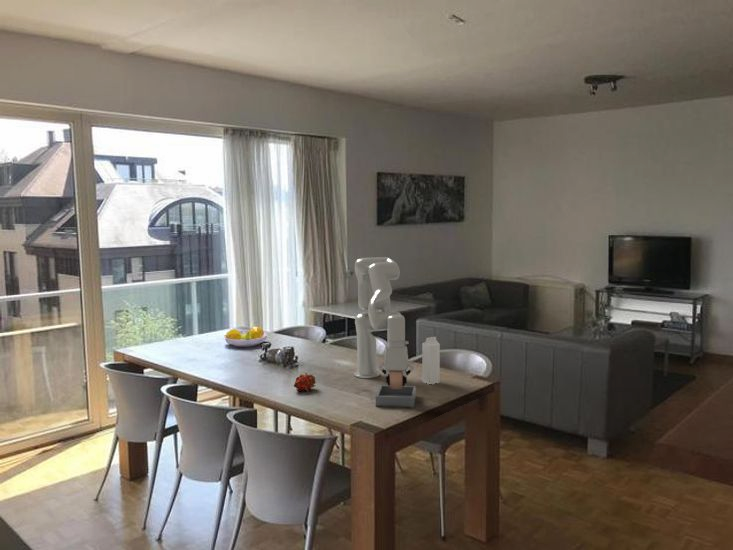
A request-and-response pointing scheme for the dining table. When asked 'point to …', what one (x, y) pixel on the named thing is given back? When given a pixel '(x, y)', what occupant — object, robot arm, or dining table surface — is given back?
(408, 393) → the bin
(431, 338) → the milk
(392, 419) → the dining table surface
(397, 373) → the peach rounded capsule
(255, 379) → the dining table surface
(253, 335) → the fruit bowl
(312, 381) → the dragon fruit
